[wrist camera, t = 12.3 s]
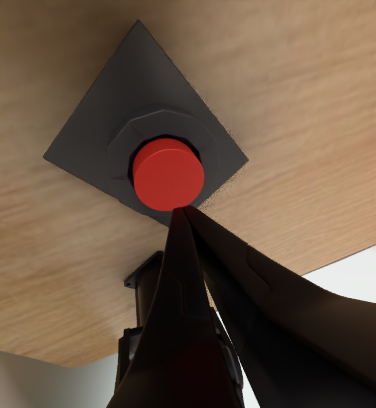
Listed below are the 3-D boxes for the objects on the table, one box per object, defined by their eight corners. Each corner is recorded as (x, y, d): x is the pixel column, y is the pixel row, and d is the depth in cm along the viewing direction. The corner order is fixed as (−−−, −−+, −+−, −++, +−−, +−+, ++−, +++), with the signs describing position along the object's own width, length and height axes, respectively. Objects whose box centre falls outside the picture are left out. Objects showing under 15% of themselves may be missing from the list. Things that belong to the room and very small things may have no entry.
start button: (167, 205, 14) (172, 221, 12) (118, 173, 11) (118, 189, 10) (207, 165, 13) (217, 178, 11) (163, 122, 10) (169, 132, 9)
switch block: (170, 219, 19) (178, 246, 16) (49, 148, 12) (29, 173, 10) (240, 153, 16) (263, 171, 14) (136, 22, 10) (141, 9, 7)
